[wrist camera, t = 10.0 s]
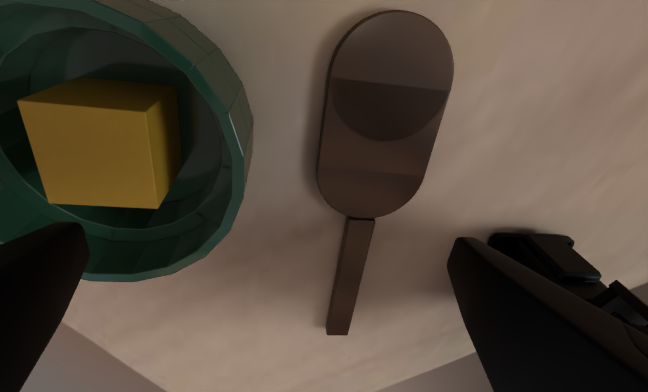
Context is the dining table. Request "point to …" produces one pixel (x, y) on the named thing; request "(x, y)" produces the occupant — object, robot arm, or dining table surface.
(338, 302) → the brown oval paddle
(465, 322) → the robot arm
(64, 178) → the block
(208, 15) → the dining table surface
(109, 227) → the green pet bowl
